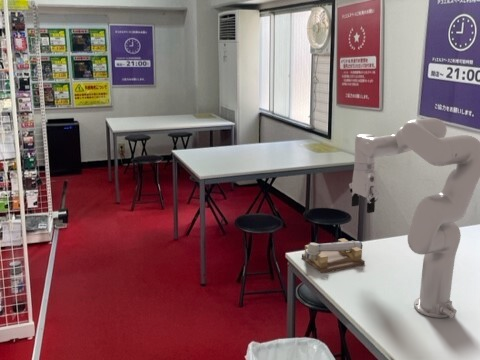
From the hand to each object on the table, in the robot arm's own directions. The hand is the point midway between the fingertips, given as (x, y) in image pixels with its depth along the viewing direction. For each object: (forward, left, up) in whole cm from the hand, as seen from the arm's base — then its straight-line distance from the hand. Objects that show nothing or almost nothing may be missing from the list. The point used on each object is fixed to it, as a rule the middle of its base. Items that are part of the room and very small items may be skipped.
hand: (362, 209), depth 200 cm
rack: (+7, +8, -24) cm, 26 cm away
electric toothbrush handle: (+7, +8, -21) cm, 24 cm away
